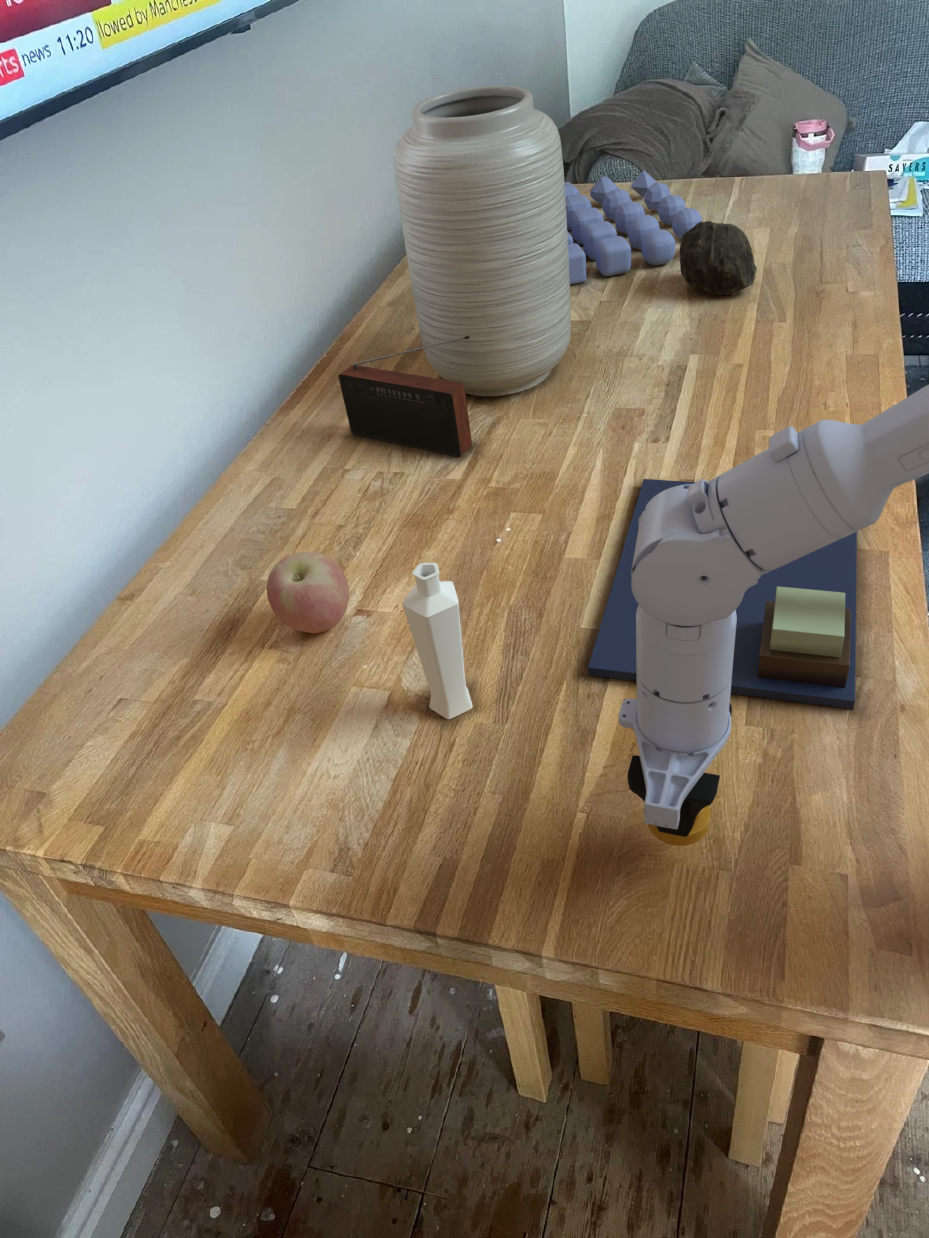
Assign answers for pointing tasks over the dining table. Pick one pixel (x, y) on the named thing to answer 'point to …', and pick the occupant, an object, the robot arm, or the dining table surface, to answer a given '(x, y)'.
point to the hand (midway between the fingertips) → (678, 805)
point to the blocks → (623, 226)
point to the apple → (308, 592)
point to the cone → (694, 836)
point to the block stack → (806, 637)
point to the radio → (406, 408)
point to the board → (811, 571)
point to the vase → (486, 237)
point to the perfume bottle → (438, 639)
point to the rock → (717, 258)
